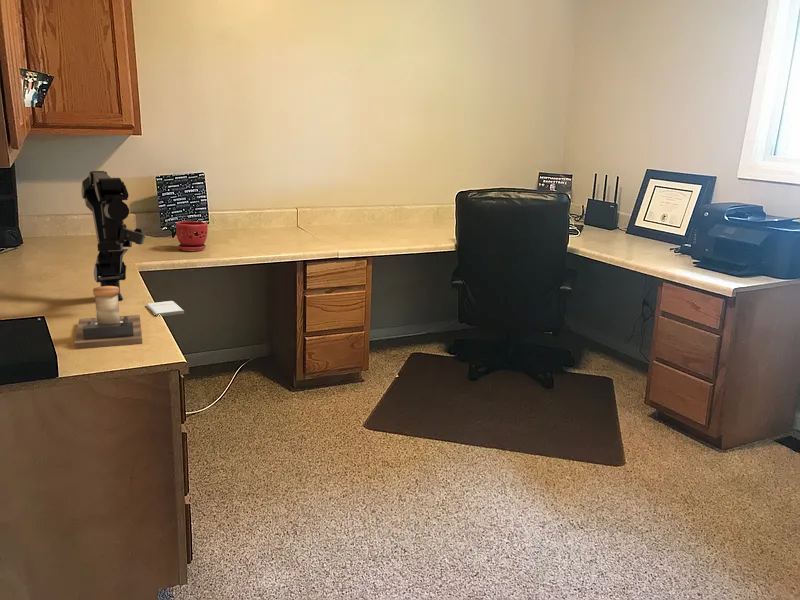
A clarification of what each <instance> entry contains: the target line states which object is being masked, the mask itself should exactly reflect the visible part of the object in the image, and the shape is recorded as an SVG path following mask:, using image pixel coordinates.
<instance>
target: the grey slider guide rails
mask: <svg viewBox="0 0 800 600" xmlns="http://www.w3.org/2000/svg"><path fill="white" fill-rule="evenodd" d="M123 316H124V323H110V324H96V325H95V318H96V317H90V318H91V322H90V325H83V337H84V340H89V339H102V338H115V337H128V336H134V333H133V322H128V316H129V315H123Z"/></svg>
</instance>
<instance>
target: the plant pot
mask: <svg viewBox="0 0 800 600" xmlns="http://www.w3.org/2000/svg"><path fill="white" fill-rule="evenodd" d="M208 228H209V226H208V222H204V221H198V220H197V221H195V220H194V221H193V220H190V221H189V220H188V221H177V222H176V224H175V231H176V232H175V233H176V237H177V240H178V242H179V244H178V245H177V246H178V248H179V250H181V251H184V252H188V251H190V252H200V251H203V250H205V249H206V247H207V246H206V244H205V243H206V241H207V238H208Z"/></svg>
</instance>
